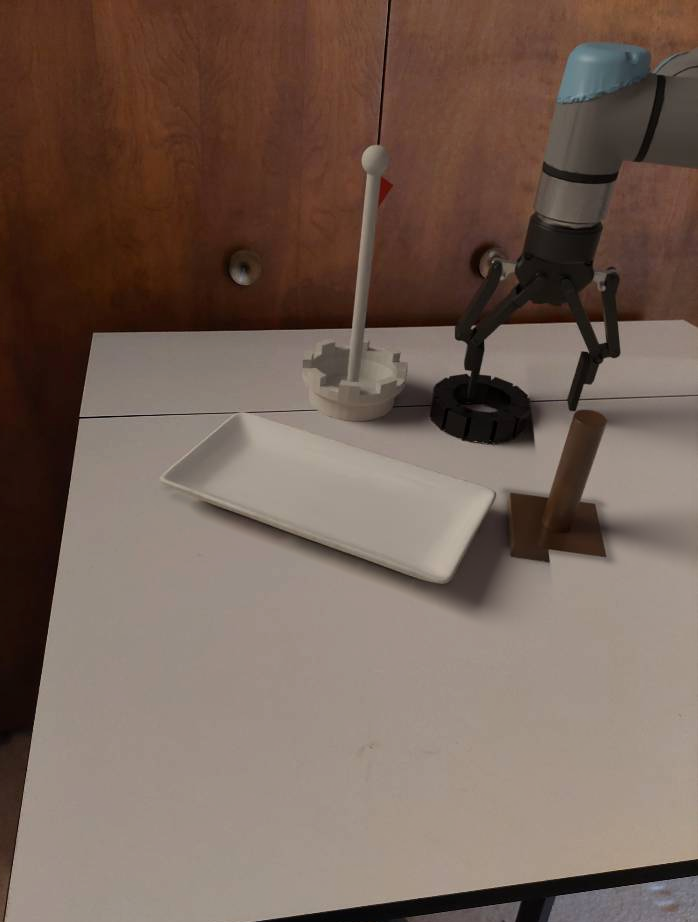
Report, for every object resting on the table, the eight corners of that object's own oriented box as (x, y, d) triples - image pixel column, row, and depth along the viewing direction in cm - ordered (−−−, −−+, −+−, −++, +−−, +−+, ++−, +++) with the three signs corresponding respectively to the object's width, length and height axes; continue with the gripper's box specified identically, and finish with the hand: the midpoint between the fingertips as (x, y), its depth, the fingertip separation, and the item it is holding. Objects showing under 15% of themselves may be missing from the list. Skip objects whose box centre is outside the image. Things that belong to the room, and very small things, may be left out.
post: (591, 514, 86) (632, 399, 77) (602, 569, 79) (649, 450, 70) (506, 503, 87) (537, 388, 78) (510, 556, 80) (544, 437, 71)
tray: (238, 431, 95) (238, 406, 93) (494, 514, 85) (501, 487, 83) (156, 505, 84) (154, 478, 81) (441, 611, 73) (448, 584, 71)
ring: (522, 400, 104) (527, 379, 102) (527, 449, 95) (533, 427, 93) (431, 389, 105) (435, 369, 104) (428, 436, 96) (432, 415, 95)
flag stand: (373, 436, 96) (406, 170, 77) (281, 404, 101) (291, 146, 82) (418, 393, 105) (459, 144, 85) (332, 364, 110) (352, 123, 90)
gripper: (677, 216, 86) (615, 396, 100) (454, 195, 88) (424, 373, 102) (692, 240, 80) (625, 427, 94) (453, 216, 82) (422, 402, 96)
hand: (520, 399), depth 98 cm, fingers open, 11 cm apart
